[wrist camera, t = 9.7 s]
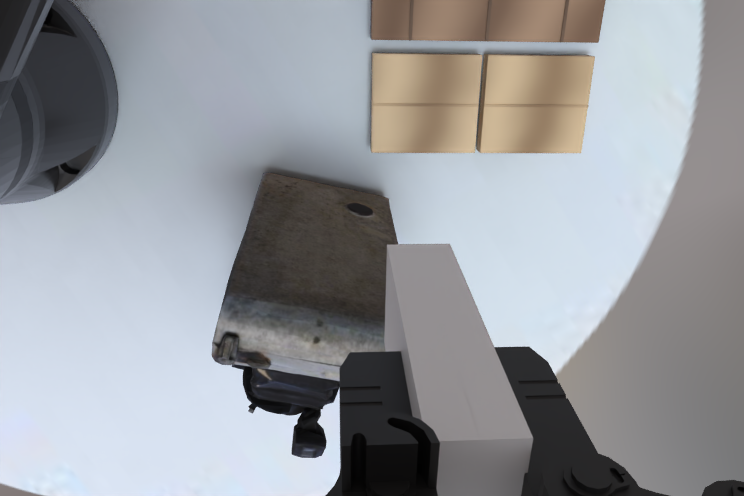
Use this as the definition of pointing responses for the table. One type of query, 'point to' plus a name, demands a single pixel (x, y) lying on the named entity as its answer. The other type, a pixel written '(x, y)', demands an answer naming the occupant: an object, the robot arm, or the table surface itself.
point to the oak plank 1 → (424, 102)
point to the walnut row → (487, 20)
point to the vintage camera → (304, 297)
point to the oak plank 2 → (534, 103)
